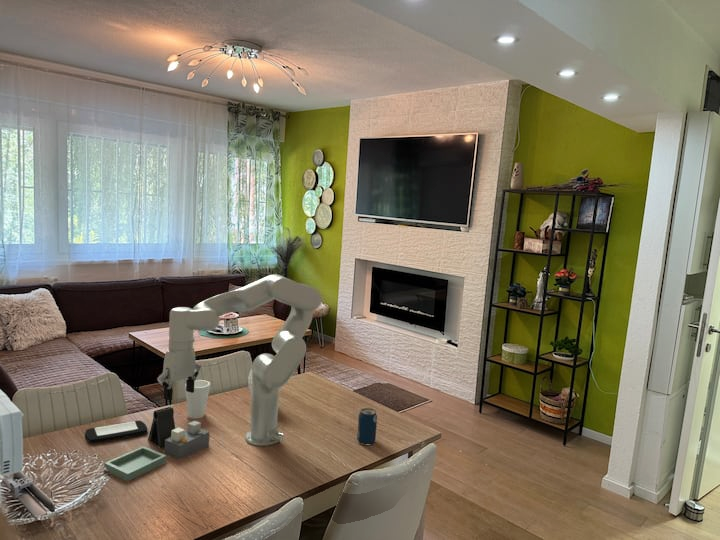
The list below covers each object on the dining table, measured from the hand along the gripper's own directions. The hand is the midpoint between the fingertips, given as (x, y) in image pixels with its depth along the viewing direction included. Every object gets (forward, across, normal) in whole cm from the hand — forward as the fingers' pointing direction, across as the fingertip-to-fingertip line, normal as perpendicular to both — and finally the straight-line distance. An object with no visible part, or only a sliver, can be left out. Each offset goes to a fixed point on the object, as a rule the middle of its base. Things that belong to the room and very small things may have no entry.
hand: (179, 395), depth 162 cm
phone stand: (+20, -2, -10) cm, 23 cm away
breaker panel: (+20, -3, +1) cm, 20 cm away
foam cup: (+20, -25, -18) cm, 37 cm away
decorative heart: (+20, -48, -3) cm, 53 cm away
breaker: (+16, -7, 0) cm, 17 cm away
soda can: (+21, -47, +48) cm, 70 cm away
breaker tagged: (+16, 0, 0) cm, 16 cm away
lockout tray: (+20, +14, -3) cm, 24 cm away
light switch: (+21, +3, -28) cm, 35 cm away
